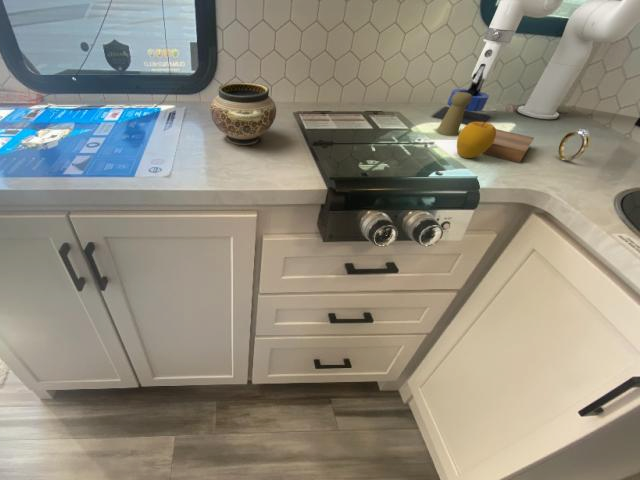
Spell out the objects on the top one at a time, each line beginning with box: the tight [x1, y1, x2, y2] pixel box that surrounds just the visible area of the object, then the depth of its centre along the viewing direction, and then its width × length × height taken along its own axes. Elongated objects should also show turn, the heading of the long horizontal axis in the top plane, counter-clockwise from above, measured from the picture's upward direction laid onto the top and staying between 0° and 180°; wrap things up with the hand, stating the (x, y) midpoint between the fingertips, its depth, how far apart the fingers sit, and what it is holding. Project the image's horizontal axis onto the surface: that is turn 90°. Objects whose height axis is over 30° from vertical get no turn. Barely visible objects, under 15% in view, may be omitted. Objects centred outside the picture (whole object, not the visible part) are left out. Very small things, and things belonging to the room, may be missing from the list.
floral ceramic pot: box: [209, 82, 277, 146], centre depth 94 cm, size 24×18×15 cm
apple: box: [456, 121, 497, 159], centre depth 91 cm, size 8×8×9 cm
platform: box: [482, 128, 535, 163], centre depth 99 cm, size 14×14×3 cm
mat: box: [432, 106, 490, 126], centre depth 120 cm, size 15×15×1 cm
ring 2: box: [558, 127, 591, 161], centre depth 92 cm, size 7×3×8 cm, turn 179°
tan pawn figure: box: [436, 92, 472, 137], centre depth 105 cm, size 6×6×11 cm
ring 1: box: [447, 88, 490, 112], centre depth 116 cm, size 11×11×4 cm
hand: (468, 101), depth 120 cm, fingers closed on ring 1, 2 cm apart
